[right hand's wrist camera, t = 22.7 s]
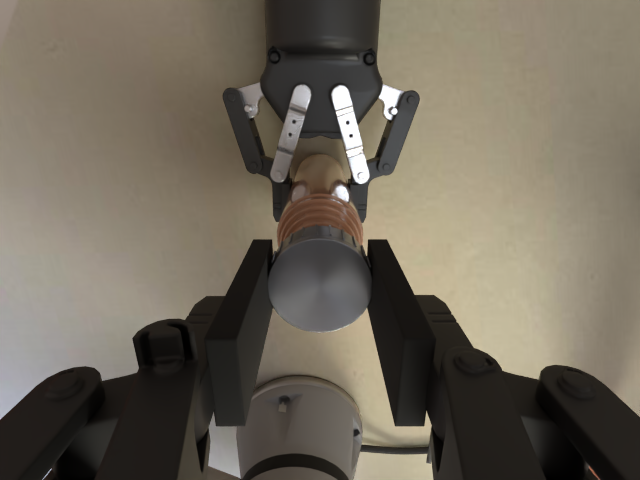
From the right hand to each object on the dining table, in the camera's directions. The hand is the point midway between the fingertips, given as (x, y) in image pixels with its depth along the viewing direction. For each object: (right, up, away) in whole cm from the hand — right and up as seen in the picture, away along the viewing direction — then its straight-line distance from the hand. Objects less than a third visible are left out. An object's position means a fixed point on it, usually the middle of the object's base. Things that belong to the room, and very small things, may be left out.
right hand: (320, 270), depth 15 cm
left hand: (0, +2, +14) cm, 14 cm away
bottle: (0, +7, +19) cm, 20 cm away
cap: (0, 0, -1) cm, 1 cm away
